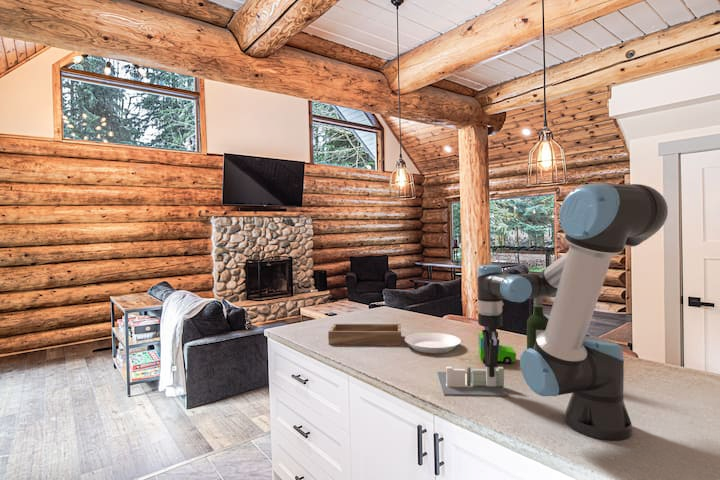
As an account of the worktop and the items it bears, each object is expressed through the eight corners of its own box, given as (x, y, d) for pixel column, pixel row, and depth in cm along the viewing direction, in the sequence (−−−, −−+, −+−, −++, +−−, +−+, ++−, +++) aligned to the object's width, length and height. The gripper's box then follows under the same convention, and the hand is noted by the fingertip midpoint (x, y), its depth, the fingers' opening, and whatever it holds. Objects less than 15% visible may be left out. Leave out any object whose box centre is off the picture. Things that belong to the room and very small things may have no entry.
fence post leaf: (471, 388, 132) (471, 368, 132) (447, 387, 133) (446, 368, 133) (470, 386, 134) (470, 366, 134) (446, 385, 135) (446, 366, 135)
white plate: (401, 354, 171) (401, 346, 171) (408, 339, 195) (408, 331, 195) (461, 357, 165) (461, 349, 165) (460, 341, 189) (460, 333, 189)
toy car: (517, 365, 153) (516, 340, 153) (481, 364, 156) (480, 338, 156) (512, 357, 163) (512, 333, 163) (478, 356, 166) (478, 332, 166)
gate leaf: (473, 385, 132) (473, 368, 132) (472, 383, 134) (472, 366, 134) (504, 386, 132) (503, 368, 131) (502, 384, 133) (502, 366, 133)
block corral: (401, 344, 184) (401, 332, 184) (328, 344, 187) (328, 331, 187) (401, 335, 200) (400, 324, 200) (333, 335, 203) (333, 323, 203)
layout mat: (508, 396, 125) (508, 394, 125) (444, 395, 127) (444, 393, 127) (493, 373, 145) (493, 372, 145) (437, 373, 147) (437, 371, 147)
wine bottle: (538, 369, 149) (538, 289, 148) (556, 376, 142) (555, 292, 141) (522, 372, 146) (521, 290, 145) (539, 379, 139) (538, 293, 138)
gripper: (507, 317, 122) (508, 393, 123) (497, 308, 135) (497, 378, 136) (482, 317, 123) (483, 393, 123) (474, 308, 136) (475, 377, 136)
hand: (490, 385), depth 129 cm, fingers closed
